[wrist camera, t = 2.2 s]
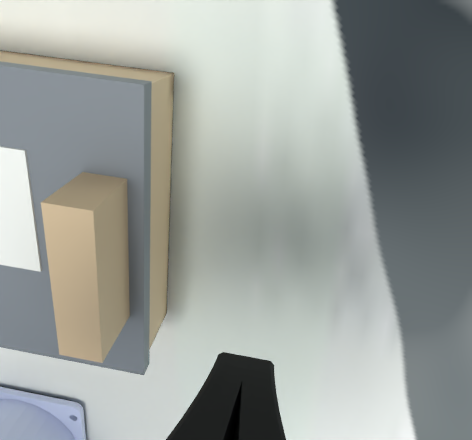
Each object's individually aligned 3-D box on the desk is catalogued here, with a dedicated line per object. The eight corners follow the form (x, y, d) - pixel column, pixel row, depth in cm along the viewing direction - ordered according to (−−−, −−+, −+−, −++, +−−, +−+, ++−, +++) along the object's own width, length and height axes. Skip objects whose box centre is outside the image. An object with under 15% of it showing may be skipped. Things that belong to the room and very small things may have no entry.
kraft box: (166, 312, 22) (147, 354, 20) (-13, 280, 23) (-55, 315, 20) (174, 73, 17) (148, 85, 14) (-62, 42, 18) (-127, 48, 15)
